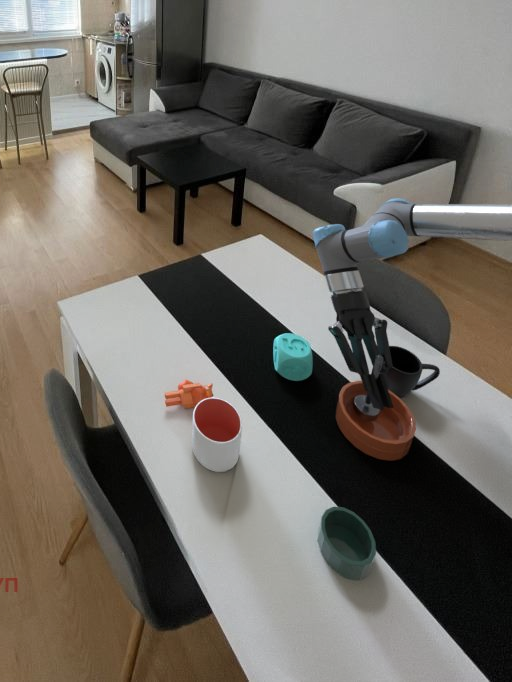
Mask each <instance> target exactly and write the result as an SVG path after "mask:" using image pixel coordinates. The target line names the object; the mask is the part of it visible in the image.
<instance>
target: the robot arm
mask: <svg viewBox="0 0 512 682" xmlns="http://www.w3.org/2000/svg"><path fill="white" fill-rule="evenodd" d="M312 237H313V241H314V245H315V246H314V249H315V251H316V253H317V256H318V259H319V261H320V262H319V263H320V265H321V268H322V271H323V276H324V279H325V282H326V286H327V289H328V292H329V293H332V294H331V296H330V301H331V303H332V307H333V309H334V311H335V314H336V316H335V317H336V318H335V320H336V321H335V323H334V324H333V325H329V326H328V331H329V332H330V334H331V335H332V336H333V337H334V339H335V342H336V344H337V346H338V348H339V351H340V353H341V355H342V357H343V359H344V361H345V364H346V365H347V368H348V370H349V372H351V373H356V374H358V375H359V378H360V381H362V383H363V387H364V389H365V391H368V392H369V395H370V399H371V402H372V405H373V408H377V409H380V410H383V409H384V407H387V408H394V407H393V404H392V401H391V398H390V395H389V392H388V389H390V384H389V381H388V378H387V375H386V373H387V372H388V369H389V368H392V367H393V364H392V359H391V353H390V348H389V346H390V342H389V338H388V333H387V329H388V321H387V319H380V318H378V317H376V316H375V314H374V312H372V310H371V303H370V301H369V297H368V295H367V292H366V291H365V290H363V289H364V288H365V285H364V282H363V279H362V277H361V274H360V273H361V272H360V270H359V267H358V263H362V262H367V261H373V260H381V259H388V258H389V259H390V258H393V257H395V256H399V255H402V254H405V253H406V252H407V251H408V249H409V246H410V245H409V243H410V241H409V237H425V238H441V239H442V238H444V239H445V238H446V239H462V240H477V241H479V240H480V241H494V242H495V241H496V242H497V241H498V242H512V203H510V204H509V203H508V204H507V203H502V204H501V203H500V204H499V203H492V204H491V203H483V204H482V203H480V204H477V203H475V204H474V203H467V204H466V203H412V202H411V201H409V200H406V199H403V198H401V197H397V198H396V197H395V198H391V199H389V200H387V201H385V202H384V203H381V205H379V207H378V208H377V210H376V211H375V213H374V214H372V216H370V218H368V219H367V220H366V222H364V224H363V225H361V226H359V227H354V228H351V229H346V228H345V226H344V225H343V224H340V223H335V224H328V225H323V226H320V227H317V228H315V229H314V230H313V231H312ZM373 327H374V330H373ZM344 331H345V332H346V335H347V337H346V335H345V334H344ZM347 338H348V339H347ZM349 342H350V343H349ZM363 344H364V346H363ZM364 347H365V348H364ZM364 349H366V352H367V355H368V358H369V360H370V363H371V365H372V366H373V365H374V361H375V357H376V355H381V356H382V357H383V362H382V366H381V370H380V373H379V377H378V381H377V384H376V380H375V377H374V375H373V374H371V373H370V370H369V365H368V361H367V358H366V353H365V350H364Z"/></svg>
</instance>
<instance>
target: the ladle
mask: <svg viewBox="0 0 512 682" xmlns="http://www.w3.org/2000/svg"><path fill="white" fill-rule="evenodd" d="M382 362H383V357H382V356H381V355H376V357H375V361H374V365H372V368H371V371H370V372H371V373H370V374H373V375H374V377H375V380H376V384H377V381H378V377H379V373H380V370H381V366H382ZM353 409H354V411H355V413H356V414H357V415H358V416H359V417H360V418H362V419H364V420H366V421H375V420H377V418H378V415H379V412H380V409H377V408H373V405H372V402H371V399H370V395H369V392H368V391H366V395H358V396H356V397H355V399H354V403H353Z"/></svg>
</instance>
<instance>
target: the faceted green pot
mask: <svg viewBox="0 0 512 682" xmlns="http://www.w3.org/2000/svg"><path fill="white" fill-rule="evenodd" d="M319 522H320V523H319V526H318V529H317V530H318V531H317V544H318V547H319V551H320V553H321V556H322V557H323V559H324V560H325V562H326V563H327V564H328V566H329V567H330V568H331V569H332V570H333V571H334V572H335V573H337V574H338V575H340V576H342V577H343V578H345V579H348V580H352V581H360V580H363V579H364V578H366V577H368V575H369V574H370V571H371V569H372V567H373V564H374V561H375V557H376V555H377V544H376V543H377V542H376V540H375V538H374V535H373V533H372V530H371V528H370V527H369V526H368V524H367V523H366V522H365V521H364V519H363V518H361V517H360V516H359V515H358V514H357V513H355V512H354V511H352V510H350V509H348V508H346V507H343V506H331V507H329V508H327V509H325V511H324V512H323V514H322V516H321V519H320V521H319Z"/></svg>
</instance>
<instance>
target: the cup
mask: <svg viewBox="0 0 512 682" xmlns="http://www.w3.org/2000/svg"><path fill="white" fill-rule="evenodd" d="M191 429H192V430H191V433H192V434H191V448H192V451H193V455H194V457H195V458H196V460H197V462H199V464H200V465H201V466H203V467H204V468H206V469H207V470H209V471H212V472H216V473H225V472H227V471H231V469H232V468H234V467H235V466H236V464H237V462H238V460H239V459H240V458H239V457H240V451H241V450H240V449H241V443H242V441H241V440H242V431H243V422H242V418H241V415H240V412H239V411H238V409H236V407H235V406H234V405H233V404H232V403H230V402H228V401H227V400H225V399H224V398H223V399H222V398H219V397H212V398H207V399H204V400H202V401H200V402H199V403H198V404H197V405H196V407H194V408H193V412H192V428H191Z"/></svg>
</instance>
